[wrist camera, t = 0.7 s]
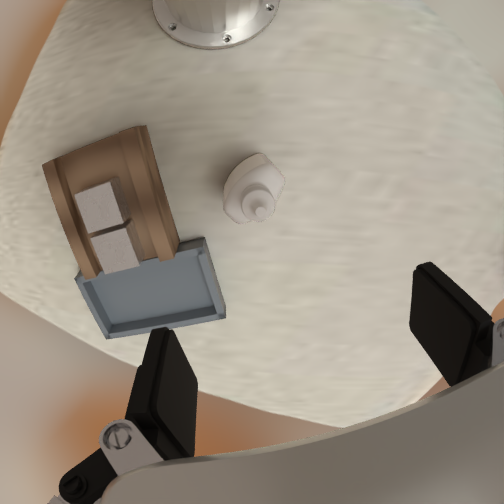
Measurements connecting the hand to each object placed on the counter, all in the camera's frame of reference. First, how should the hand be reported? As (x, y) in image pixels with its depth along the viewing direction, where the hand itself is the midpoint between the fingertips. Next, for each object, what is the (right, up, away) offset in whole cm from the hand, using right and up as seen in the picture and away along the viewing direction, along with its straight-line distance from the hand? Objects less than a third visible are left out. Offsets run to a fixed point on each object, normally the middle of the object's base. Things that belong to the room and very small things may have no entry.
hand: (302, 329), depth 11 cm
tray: (-14, -1, +25) cm, 28 cm away
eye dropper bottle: (-2, +11, +21) cm, 23 cm away
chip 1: (-16, +8, +17) cm, 25 cm away
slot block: (-16, +9, +20) cm, 27 cm away
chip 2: (-15, +4, +19) cm, 25 cm away
